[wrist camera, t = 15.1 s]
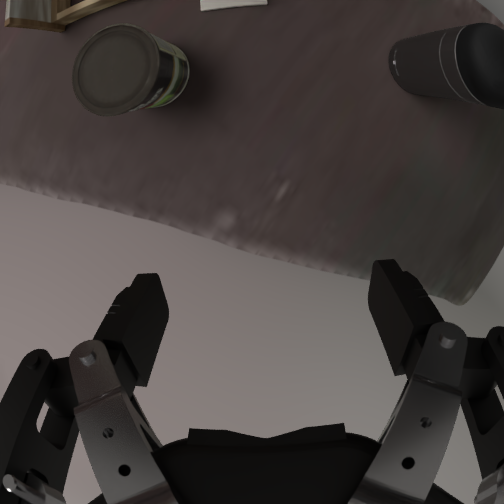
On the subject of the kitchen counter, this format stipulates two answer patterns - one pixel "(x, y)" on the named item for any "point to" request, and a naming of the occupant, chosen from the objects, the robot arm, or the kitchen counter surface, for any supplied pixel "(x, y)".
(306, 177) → the kitchen counter surface
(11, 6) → the cold frame
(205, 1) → the tile
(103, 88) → the coffee can
